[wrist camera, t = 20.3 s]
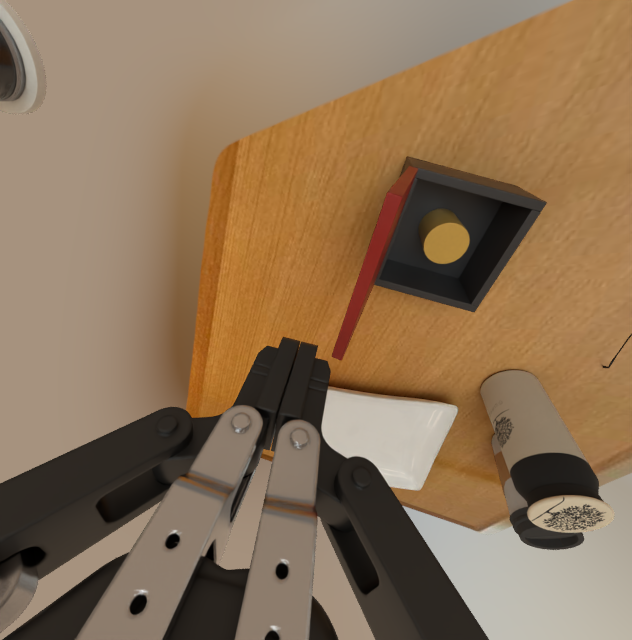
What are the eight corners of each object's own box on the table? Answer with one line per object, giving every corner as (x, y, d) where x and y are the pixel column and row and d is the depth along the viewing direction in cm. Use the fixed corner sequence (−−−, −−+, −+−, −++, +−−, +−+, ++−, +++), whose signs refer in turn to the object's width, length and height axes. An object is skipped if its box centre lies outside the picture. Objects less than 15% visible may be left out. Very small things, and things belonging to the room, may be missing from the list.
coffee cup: (545, 446, 51) (596, 549, 39) (494, 456, 55) (526, 552, 43) (529, 418, 48) (579, 520, 36) (476, 430, 52) (506, 527, 40)
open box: (516, 185, 30) (547, 202, 25) (460, 282, 37) (474, 312, 32) (406, 156, 30) (413, 166, 25) (370, 258, 37) (369, 283, 32)
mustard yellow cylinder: (415, 215, 33) (420, 230, 29) (456, 203, 31) (467, 216, 27) (421, 250, 35) (427, 268, 31) (460, 240, 33) (471, 257, 29)
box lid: (402, 196, 14) (387, 191, 15) (341, 361, 21) (331, 356, 22) (418, 168, 24) (409, 165, 25) (373, 286, 31) (365, 284, 31)
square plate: (295, 454, 67) (291, 471, 64) (291, 367, 51) (286, 384, 48) (418, 476, 63) (420, 495, 60) (456, 390, 47) (461, 409, 44)
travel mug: (552, 379, 43) (640, 516, 29) (513, 410, 48) (572, 540, 33) (502, 361, 43) (566, 489, 28) (468, 394, 47) (508, 518, 33)
